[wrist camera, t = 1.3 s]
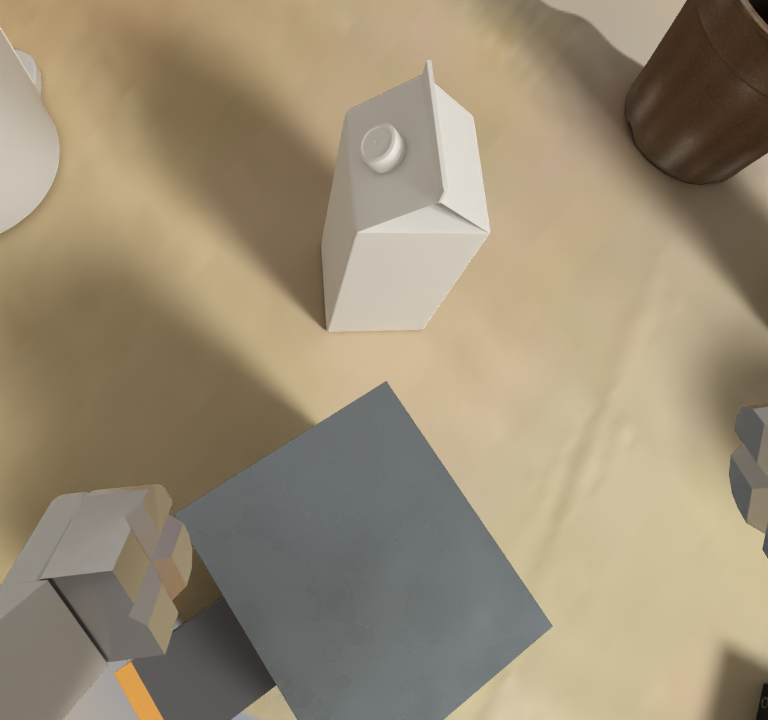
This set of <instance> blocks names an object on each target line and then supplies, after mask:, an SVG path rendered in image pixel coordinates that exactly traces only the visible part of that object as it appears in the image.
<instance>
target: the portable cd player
mask: <svg viewBox="0 0 768 720" xmlns="http://www.w3.org/2000/svg"><path fill="white" fill-rule="evenodd" d="M756 720H768V684H765V683H764V685H763V690H762V694H761V699H760V704H759V708H758V713H757V718H756Z"/></svg>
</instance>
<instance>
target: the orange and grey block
mask: <svg viewBox="0 0 768 720" xmlns="http://www.w3.org/2000/svg"><path fill="white" fill-rule="evenodd" d="M114 675H115V676H116V678H117V680H118V682H119V684H120V686H121V687H122V689H123V691H124V693H125V694H126V696H127V698H128V700H129V702H130V703H131V705H132V707H133V709H134V711H135V712H136V714H137V716H138V718H139V720H231V719H232V718H233V717H235V716H236V715H237V714H239V713H240V712H241V711H243V710H244V709H245V708H247V707H248V706H249V705H251V704H252V703H253V702H255V701H256V700H257V699H259V698H260V697H261V696H263V695H264V694H265V693H267V692H268V691H269V690H271V689H272V688H273V687H274V686H276V683H275V681H274V680H273V678H272V676H271V675H270V673H269V671H268V670H267V668H266V666H265V665H264V663H263V661H262V660H261V658H260V656H259V655H258V653H257V651H256V650H255V648H254V646H253V645H252V643H251V641H250V640H249V638H248V636H247V635H246V633H245V631H244V630H243V628H242V626H241V625H240V623H239V621H238V620H237V618H236V616H235V615H234V613H233V611H232V609H231V608H230V606H229V604H228V603H227V601H226V599H225V598H224V596H223V597H221V598H220V599H218V600H217V601H215V602H214V603H212V604H211V605H210V606H208V607H207V608H205V609H204V610H202V611H201V612H199V613H198V614H196V615H195V616H193V617H192V618H191V619H189V620H188V621H186V622H185V623H183V624H182V625H180V626H179V627H178V628H176V629H175V630H173V631H172V635H171V638H170V641H169V644H168V647H167V650H166V653H165V655H159V656H151V657H143V658H136V659H133V660H131V661H130V662H129V663H127V664H126V665H125V666H123V667H122V668H121V669H119V670H118V671H116V672H115V673H114Z"/></svg>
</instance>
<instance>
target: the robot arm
mask: <svg viewBox="0 0 768 720" xmlns="http://www.w3.org/2000/svg"><path fill="white" fill-rule="evenodd" d="M41 91H42V80H41V72H40V69H39V67H38V66H37V64H36V62H35V61H34V59H33V58H32V57H31V56H30V55H29V54H27V53H25V52H22V51H20V50H16V49H13V47H12V45H11V44H10V42H9V40H8V39H7V37H6V35H5V34H4V32H3V31H2V29H1V27H0V233H2V232H4V231H6V230H8V229H10V228H11V227H13V226H14V225H16V224H17V223H19V222H20V221H22V220H23V219H24V218H25V217H27V216H28V215H29V214H30V213H31V212H32V211H33V210H34V209H35V208H36V207H37V206H38V205H39V204H40V202H41V201H42V200H43V198H44V197H45V196H46V194H47V193H48V191H49V189H50V187H51V185H52V184H53V181H54V179H55V176H56V173H57V169H58V165H59V158H60V145H59V139H58V134H57V131H56V128H55V125H54V123H53V121H52V119H51V117H50V115H49V113H48V111H47V110H46V108H45V106H44V103H43V101H42V98H41ZM735 432H736V433H737V435H738V436H739V438H740V439H741V441H742V442H743V444H742V445H741V446H740V447H739V448H738V449H737V450H736V451H735V452H734V453H733V454H732V455H731V460H730V470H729V477H730V483H731V489H732V494H733V497H734V499H735V502H736V504H737V507H738V509H739V511H740V513H741V514H742V516H743V518H744V519H745V521H746V523H747V524H749V525H751V526H753V527H754V528H756V529H758V530H759V531H761V532H763V533H765V539H764V544H763V551H764V553H765V554H766V556H767V558H768V404H761V405H754V406H747V407H742V409H741V410H740V412H739V414H738V415H737V420H736V426H735ZM172 503H173V501H172V499H171V498H170V496H169V494H168V492H167V491H166V489H165V487H164V486H162V485H158V484H148V485H138V486H129V487H119V488H110V489H101V490H93V491H89V492H79V493H69V494H62V495H60V496H58V497H57V498H55V499H54V500H52V502H51V503H50V505H49V507H48V508H47V510H46V512H45V513H44V515H43V517H42V518H41V520H40V522H39V523H38V525H37V527H36V528H35V530H34V531H33V533H32V535H31V536H30V538H29V540H28V541H27V543H26V545H25V546H24V548H23V550H22V551H21V553H20V555H19V556H18V558H17V560H16V561H15V563H14V565H13V566H12V568H11V570H10V571H9V573H8V575H7V576H6V578H5V579H4V581H3V583H2V584H1V585H0V720H63V719H64V718H65V717H66V715H67V714H68V713H69V712H70V711H71V709H72V708H73V707H74V706H75V705H76V703H77V702H78V701H79V700H80V699H81V698H82V696H83V695H84V694H85V693H86V691H87V690H88V689H89V688H90V687H91V686H92V684H93V683H94V682H95V681H96V680H97V678H98V677H99V676H100V675H101V674H102V672H103V671H104V670H105V669H106V668H107V666H108V664H107V662H112V661H120V660H128V659H136V658H143V657H151V656H159V655H165V653H166V650H167V647H168V644H169V641H170V638H171V635H172V631H173V628H174V625H175V622H176V619H177V616H178V611H177V609H176V607H175V605H174V602H173V599H174V598H175V597H176V596H177V595H178V594H179V593H180V592H181V591H182V590H183V589H184V588H185V587H186V586H187V583H188V580H189V577H190V573H191V570H192V545H191V541H190V537H189V533H188V531H187V529H186V527H185V525H184V523H183V522H181V521H179V520H178V519H176V518H175V517H173V516H171V515H170V514H169V511H170V508H171V506H172Z"/></svg>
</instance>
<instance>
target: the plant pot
mask: <svg viewBox="0 0 768 720" xmlns="http://www.w3.org/2000/svg"><path fill="white" fill-rule="evenodd" d="M625 115H626V120H627V121H628V122H629V123H630V124H631V127H632V131H633V140H634V142H635V144H636V145H637V147H638V149H639V150H640V151H641V152H642V153H643V155H644V156H645V157H646V158H647V159H648V160H649V161H651V162H652V163H653V164H654V165H655V166H657V167H658V168H659V169H661V170H662V171H664V172H665V173H667V174H669V175H671V176H672V177H674V178H677V179H679V180H682V181H684V182H687V183H693V184H704V183H708V182H715V181H719V182H722V181H724V180H727V179H729V178H731V177H732V176H734V175H735V174H737V173H738V172H740V171H741V170H742V169H744V168H745V167H747V166H748V165H750V164H751V163H753V162H754V161H756V160H758V159H759V158H761V157H762V156H764V155H765V154H767V153H768V0H687V1H686V3H685V4H684V6H683V8H682V9H681V11H680V12H679V14H678V16H677V17H676V19H675V20H674V22H673V23H672V25H671V27H670V28H669V30H668V31H667V33H666V34H665V36H664V37H663V39H662V41H661V42H660V44H659V45H658V47H657V48H656V50H655V52H654V53H653V55H652V56H651V58H650V60H649V61H648V63H647V64H646V65H645V67H644V68H643V70H642V71H641V73H640V74H639V76H638V77H637V79H636V80H635V82H634V83H633V85H632V87H631V89H630V91H629V93H628V96H627V100H626V106H625Z"/></svg>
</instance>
